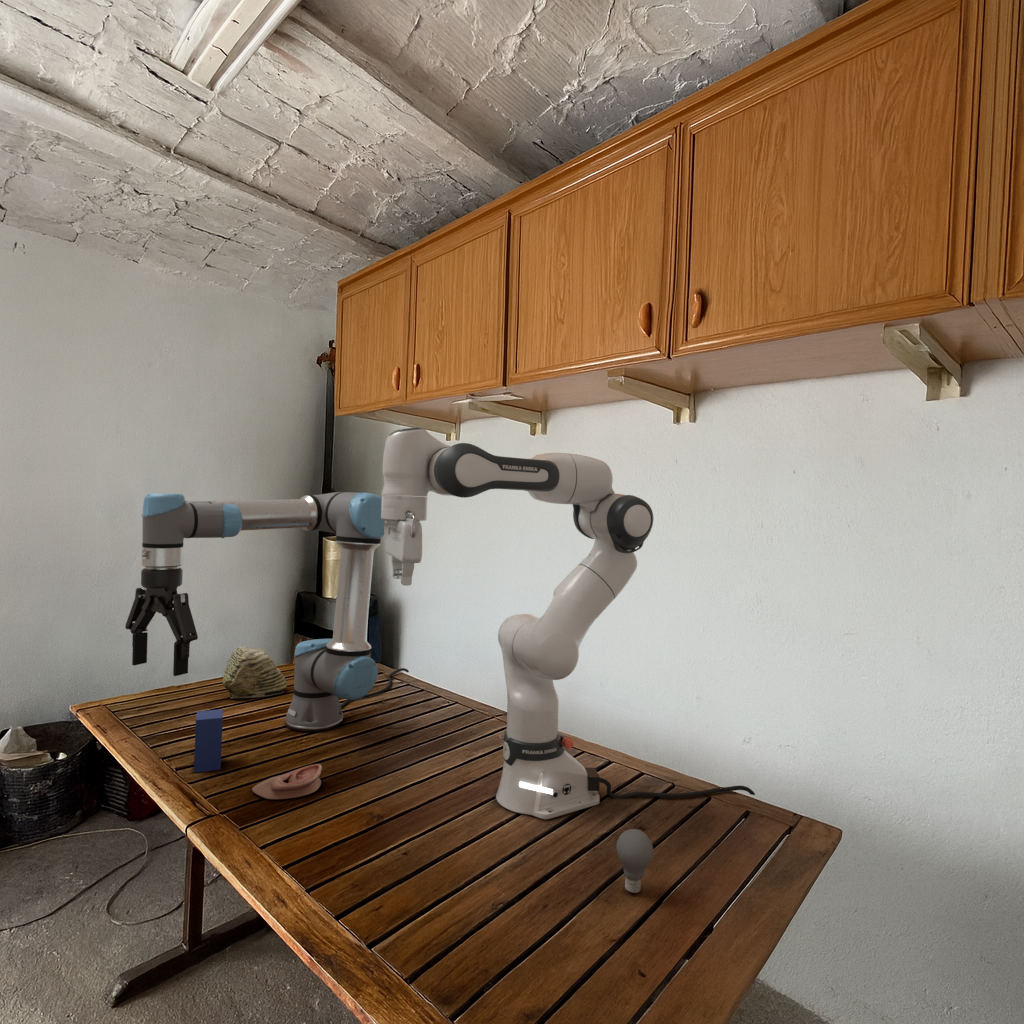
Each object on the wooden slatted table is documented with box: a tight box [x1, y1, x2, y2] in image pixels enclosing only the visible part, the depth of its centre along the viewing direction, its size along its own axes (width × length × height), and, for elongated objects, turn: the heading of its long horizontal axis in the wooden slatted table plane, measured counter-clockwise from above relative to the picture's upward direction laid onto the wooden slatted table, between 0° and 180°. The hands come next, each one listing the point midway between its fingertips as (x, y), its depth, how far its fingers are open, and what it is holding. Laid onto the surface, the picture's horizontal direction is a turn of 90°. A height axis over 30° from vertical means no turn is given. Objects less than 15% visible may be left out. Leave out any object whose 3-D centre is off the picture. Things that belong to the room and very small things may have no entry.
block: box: [193, 708, 224, 774], centre depth 146 cm, size 6×6×12 cm
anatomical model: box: [251, 763, 323, 800], centre depth 137 cm, size 13×4×12 cm
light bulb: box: [615, 828, 654, 894], centre depth 106 cm, size 6×6×10 cm
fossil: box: [222, 646, 288, 699], centre depth 198 cm, size 9×18×15 cm, turn 132°
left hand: (159, 669), depth 132 cm, fingers open, 13 cm apart
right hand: (401, 581), depth 124 cm, fingers open, 8 cm apart
